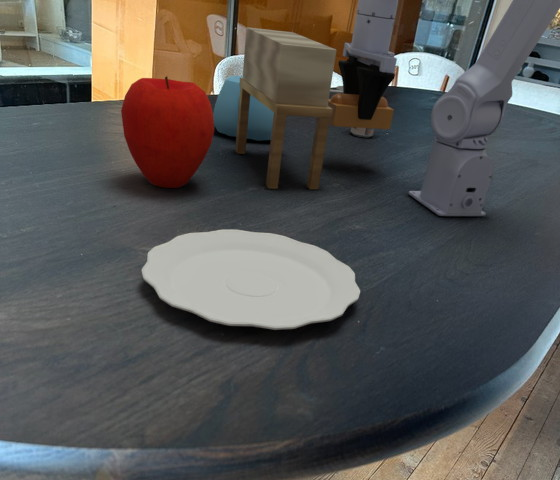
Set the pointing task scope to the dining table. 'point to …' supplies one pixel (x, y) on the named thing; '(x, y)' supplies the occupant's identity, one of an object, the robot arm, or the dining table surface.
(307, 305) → the plate
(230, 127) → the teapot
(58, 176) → the dining table surface
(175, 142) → the apple
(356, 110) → the low wooden box
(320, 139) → the stand
